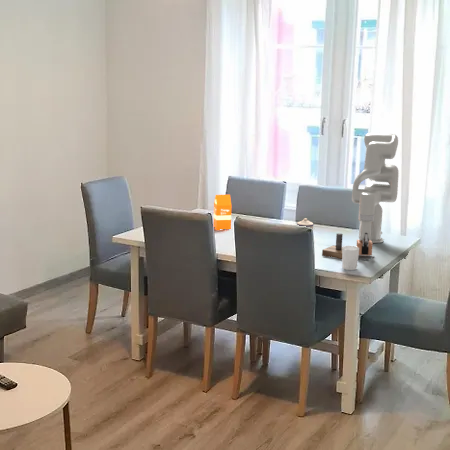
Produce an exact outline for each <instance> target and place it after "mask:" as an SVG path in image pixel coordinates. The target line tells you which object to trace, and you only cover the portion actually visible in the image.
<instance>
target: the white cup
mask: <svg viewBox="0 0 450 450" xmlns="http://www.w3.org/2000/svg"><path fill="white" fill-rule="evenodd" d="M358 256H359V248H358V247H357V246H355V245H344V246H343V245H342V259H341V262H342V263H341V264H342V269H343V270H347V271H355V270H357V268H358V263H359V259H358Z"/></svg>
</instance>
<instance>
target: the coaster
mask: <svg viewBox="0 0 450 450" xmlns="http://www.w3.org/2000/svg"><path fill="white" fill-rule="evenodd" d="M374 258H375V256H374V255H359V256H358V260H362V261H370V260H372V259H374Z"/></svg>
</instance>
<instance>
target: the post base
mask: <svg viewBox="0 0 450 450" xmlns="http://www.w3.org/2000/svg"><path fill="white" fill-rule="evenodd" d="M342 247H343V233H336V237H335V244H334V245H331V246H328V247H326V248H323V249H322V252H321V256H322V257H328V258H332V259H333V258H334V259H338V260H342Z"/></svg>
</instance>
